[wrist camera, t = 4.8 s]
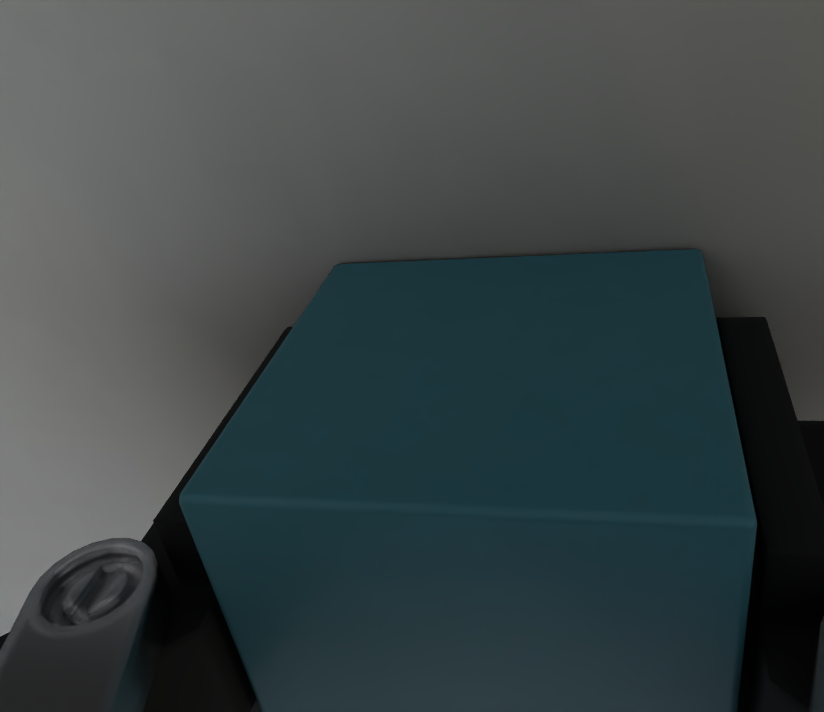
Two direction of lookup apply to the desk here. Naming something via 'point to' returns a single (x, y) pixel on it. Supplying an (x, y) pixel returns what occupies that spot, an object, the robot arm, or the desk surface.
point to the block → (487, 493)
